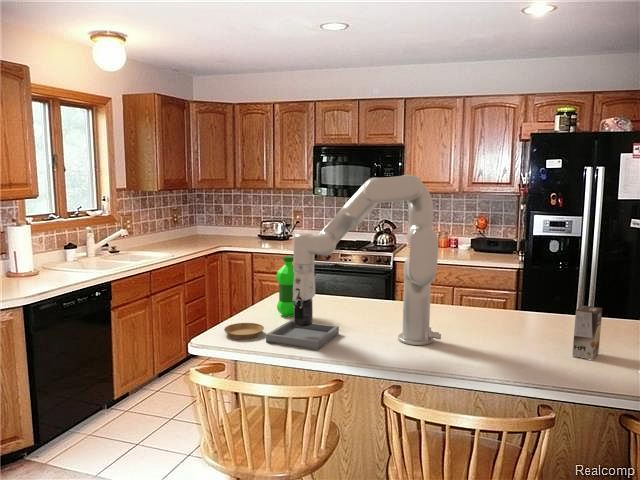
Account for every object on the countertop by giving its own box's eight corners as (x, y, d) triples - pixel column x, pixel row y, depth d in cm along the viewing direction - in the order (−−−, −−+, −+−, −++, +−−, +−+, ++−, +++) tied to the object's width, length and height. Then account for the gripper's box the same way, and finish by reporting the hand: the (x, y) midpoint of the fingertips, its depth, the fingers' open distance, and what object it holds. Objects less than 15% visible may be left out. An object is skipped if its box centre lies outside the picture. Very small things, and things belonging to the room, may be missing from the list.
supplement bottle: (313, 321, 194) (313, 290, 193) (311, 327, 187) (311, 294, 186) (295, 321, 195) (295, 289, 193) (292, 326, 188) (292, 293, 187)
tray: (338, 334, 197) (338, 326, 197) (317, 350, 179) (317, 341, 178) (290, 327, 205) (290, 320, 204) (266, 342, 186) (266, 334, 186)
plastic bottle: (273, 312, 226) (273, 255, 223) (297, 311, 229) (297, 254, 226) (278, 319, 217) (278, 259, 213) (303, 317, 220) (303, 258, 216)
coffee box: (592, 361, 171) (596, 313, 169) (571, 356, 175) (575, 309, 173) (599, 354, 178) (602, 307, 176) (578, 349, 182) (582, 304, 180)
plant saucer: (256, 342, 187) (256, 335, 187) (217, 339, 190) (217, 332, 190) (269, 330, 201) (269, 324, 201) (232, 328, 204) (232, 321, 204)
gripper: (303, 272, 179) (302, 323, 181) (322, 264, 195) (322, 311, 197) (283, 270, 182) (283, 320, 184) (304, 263, 198) (303, 309, 200)
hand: (303, 315), depth 191 cm, fingers closed on supplement bottle, 6 cm apart
